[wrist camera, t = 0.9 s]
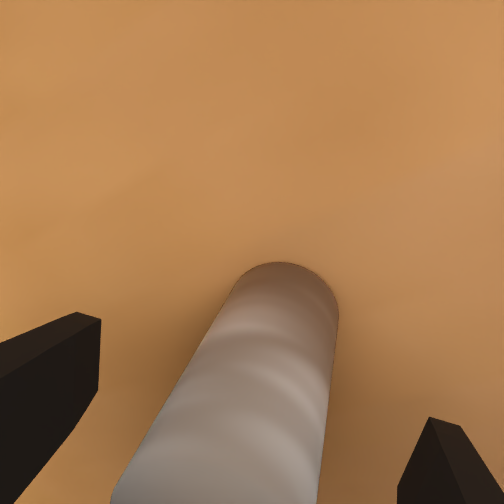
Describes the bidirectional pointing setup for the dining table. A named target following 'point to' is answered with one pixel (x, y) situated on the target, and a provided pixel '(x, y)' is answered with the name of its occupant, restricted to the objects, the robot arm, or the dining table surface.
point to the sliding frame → (246, 401)
